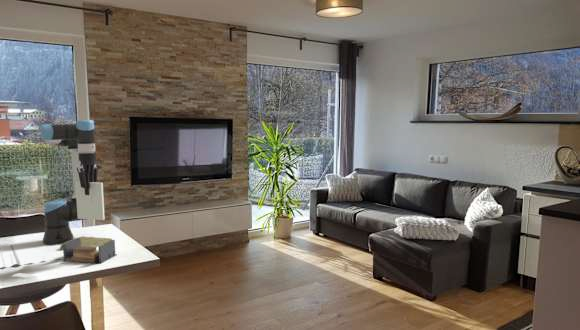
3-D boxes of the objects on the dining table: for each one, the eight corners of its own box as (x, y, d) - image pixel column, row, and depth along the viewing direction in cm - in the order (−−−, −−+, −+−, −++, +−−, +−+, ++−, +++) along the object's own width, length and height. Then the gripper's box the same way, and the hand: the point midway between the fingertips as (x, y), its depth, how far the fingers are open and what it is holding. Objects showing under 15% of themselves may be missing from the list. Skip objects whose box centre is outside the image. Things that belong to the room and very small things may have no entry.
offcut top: (79, 249, 205) (79, 245, 205) (96, 250, 204) (96, 246, 203) (73, 252, 201) (73, 248, 201) (90, 253, 199) (90, 249, 199)
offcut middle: (80, 253, 206) (80, 249, 206) (100, 255, 204) (100, 251, 203) (73, 256, 201) (73, 252, 201) (94, 258, 199) (93, 254, 199)
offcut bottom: (79, 257, 206) (78, 253, 206) (101, 258, 204) (100, 254, 204) (71, 261, 201) (71, 256, 201) (94, 262, 199) (93, 258, 199)
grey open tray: (81, 241, 240) (80, 235, 240) (112, 243, 236) (112, 237, 236) (56, 251, 222) (56, 245, 222) (90, 254, 218) (90, 247, 218)
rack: (82, 255, 215) (81, 236, 214) (118, 257, 211) (117, 238, 210) (62, 264, 201) (61, 244, 200) (100, 267, 197) (98, 247, 196)
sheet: (79, 218, 208) (77, 181, 206) (104, 219, 205) (102, 182, 203) (77, 218, 207) (75, 182, 204) (103, 220, 204) (101, 183, 202)
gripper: (84, 153, 194) (87, 204, 197) (103, 151, 208) (106, 198, 211) (69, 153, 196) (72, 203, 199) (90, 151, 210) (92, 197, 212)
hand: (90, 200), depth 205 cm, fingers closed on sheet
